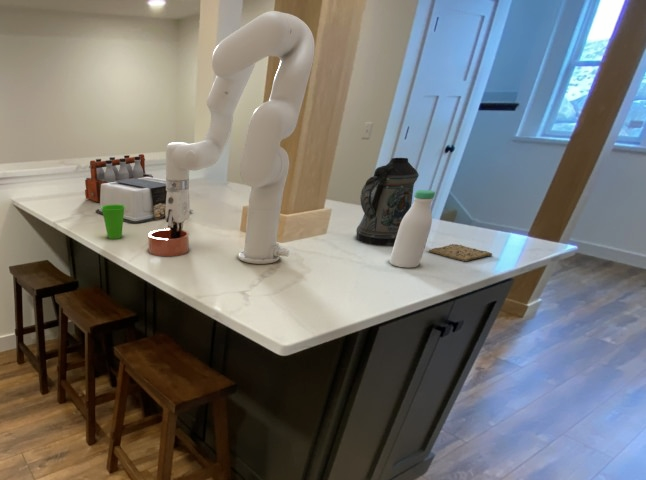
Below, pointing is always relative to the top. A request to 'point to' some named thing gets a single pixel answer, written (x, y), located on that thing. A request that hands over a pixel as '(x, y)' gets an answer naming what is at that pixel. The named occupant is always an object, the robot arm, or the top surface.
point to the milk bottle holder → (113, 173)
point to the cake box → (136, 198)
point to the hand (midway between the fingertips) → (176, 241)
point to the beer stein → (386, 202)
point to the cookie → (460, 252)
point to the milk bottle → (413, 231)
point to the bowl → (167, 243)
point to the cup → (113, 220)
